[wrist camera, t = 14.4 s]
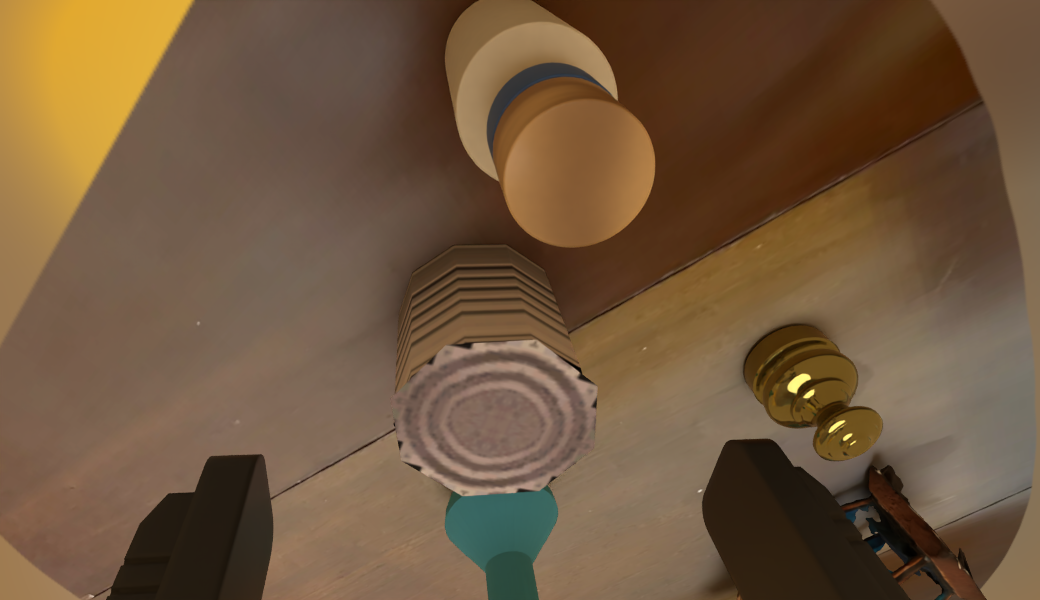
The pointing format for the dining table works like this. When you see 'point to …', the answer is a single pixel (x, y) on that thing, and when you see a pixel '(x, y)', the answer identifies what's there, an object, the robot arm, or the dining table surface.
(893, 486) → the lantern
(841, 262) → the dining table surface
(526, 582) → the perfume bottle
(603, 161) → the tan short cylinder
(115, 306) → the dining table surface
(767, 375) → the brass weight
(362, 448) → the dining table surface
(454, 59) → the cream bottle
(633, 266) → the dining table surface
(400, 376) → the can
